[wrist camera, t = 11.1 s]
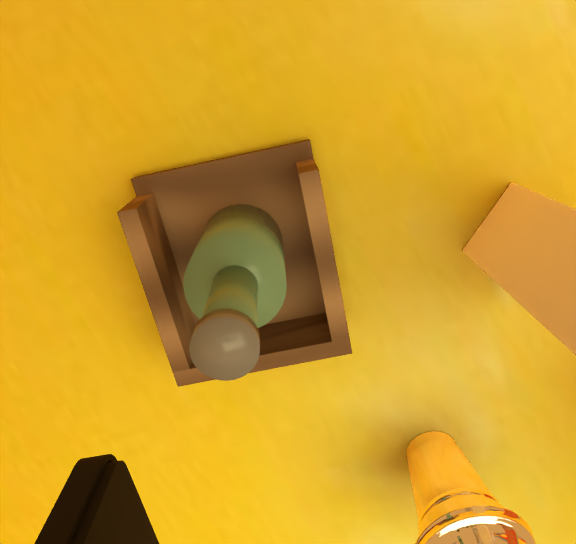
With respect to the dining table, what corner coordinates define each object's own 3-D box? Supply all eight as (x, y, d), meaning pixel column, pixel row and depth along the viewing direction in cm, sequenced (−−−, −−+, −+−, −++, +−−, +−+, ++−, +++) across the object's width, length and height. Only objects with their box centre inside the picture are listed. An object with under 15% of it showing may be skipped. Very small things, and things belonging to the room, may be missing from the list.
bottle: (191, 214, 34) (136, 305, 20) (272, 195, 33) (275, 274, 19) (214, 288, 36) (179, 418, 22) (290, 271, 35) (305, 391, 22)
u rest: (134, 177, 34) (110, 193, 29) (309, 139, 33) (314, 149, 28) (190, 348, 39) (177, 386, 34) (342, 318, 38) (352, 353, 33)
